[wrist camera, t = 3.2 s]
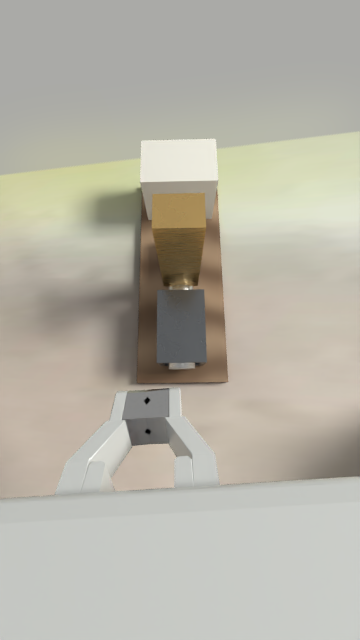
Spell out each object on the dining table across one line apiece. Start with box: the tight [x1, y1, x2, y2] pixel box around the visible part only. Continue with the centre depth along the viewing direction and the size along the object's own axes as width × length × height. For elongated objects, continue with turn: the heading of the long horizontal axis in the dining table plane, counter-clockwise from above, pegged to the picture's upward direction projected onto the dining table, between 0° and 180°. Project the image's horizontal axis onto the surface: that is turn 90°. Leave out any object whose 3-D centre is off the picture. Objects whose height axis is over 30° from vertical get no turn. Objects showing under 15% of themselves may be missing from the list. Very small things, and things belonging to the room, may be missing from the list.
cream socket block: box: [140, 139, 218, 220], centre depth 33 cm, size 6×9×7 cm, turn 91°
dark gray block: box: [157, 289, 207, 366], centre depth 29 cm, size 8×5×5 cm, turn 1°
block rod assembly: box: [152, 193, 206, 370], centre depth 25 cm, size 18×4×14 cm, turn 1°
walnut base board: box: [137, 191, 228, 383], centre depth 34 cm, size 29×11×1 cm, turn 1°
